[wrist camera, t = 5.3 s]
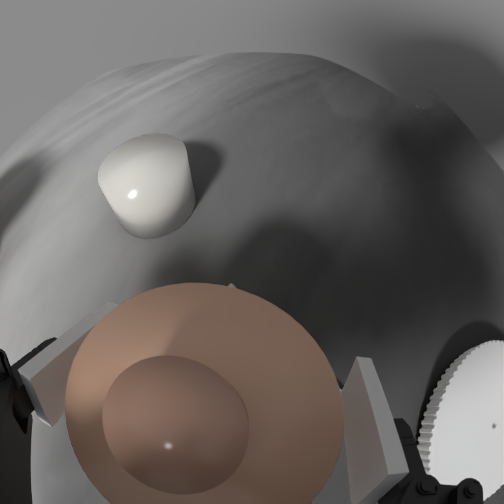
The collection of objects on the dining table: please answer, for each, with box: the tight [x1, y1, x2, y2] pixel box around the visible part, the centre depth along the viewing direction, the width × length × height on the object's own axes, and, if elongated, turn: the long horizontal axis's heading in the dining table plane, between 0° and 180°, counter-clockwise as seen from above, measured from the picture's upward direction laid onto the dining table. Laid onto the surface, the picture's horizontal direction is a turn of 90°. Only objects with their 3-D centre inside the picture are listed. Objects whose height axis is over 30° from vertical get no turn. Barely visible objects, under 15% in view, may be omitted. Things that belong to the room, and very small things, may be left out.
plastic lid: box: [417, 340, 504, 501], centre depth 12 cm, size 14×14×2 cm
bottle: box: [65, 283, 344, 504], centre depth 10 cm, size 8×8×12 cm
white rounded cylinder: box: [98, 133, 196, 239], centre depth 21 cm, size 7×7×5 cm
